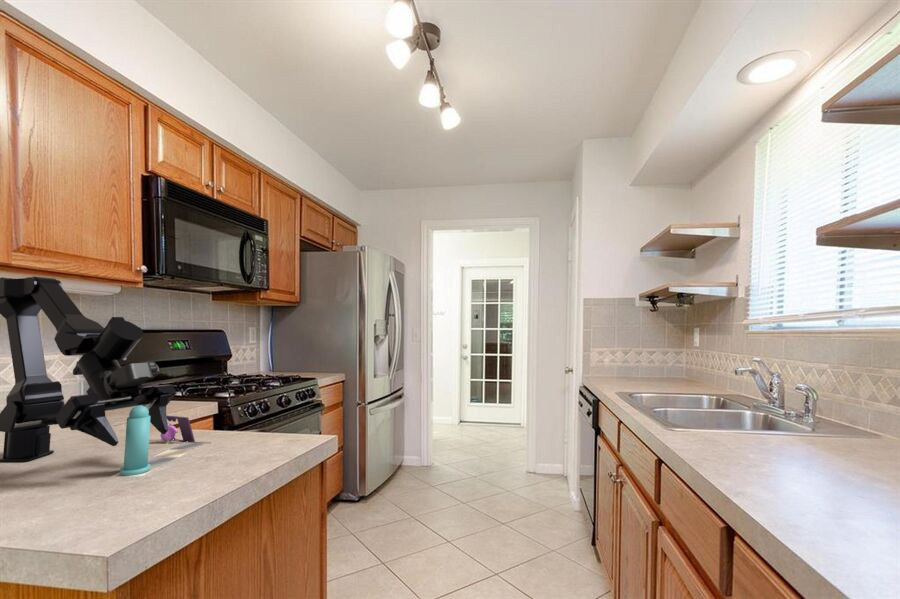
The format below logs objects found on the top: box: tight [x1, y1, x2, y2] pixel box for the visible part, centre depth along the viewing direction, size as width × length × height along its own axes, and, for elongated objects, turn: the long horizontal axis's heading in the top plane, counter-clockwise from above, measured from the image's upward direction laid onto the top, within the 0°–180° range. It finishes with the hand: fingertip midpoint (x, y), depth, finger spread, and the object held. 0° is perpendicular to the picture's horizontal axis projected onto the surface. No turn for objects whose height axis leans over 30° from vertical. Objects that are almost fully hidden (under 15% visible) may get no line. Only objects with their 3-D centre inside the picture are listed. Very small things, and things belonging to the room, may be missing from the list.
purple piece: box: [160, 414, 196, 445], centre depth 102 cm, size 7×5×9 cm
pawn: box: [119, 406, 152, 476], centre depth 80 cm, size 5×5×12 cm
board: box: [110, 441, 212, 478], centre depth 88 cm, size 8×26×1 cm, turn 3°
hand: (142, 438), depth 79 cm, fingers open, 9 cm apart
